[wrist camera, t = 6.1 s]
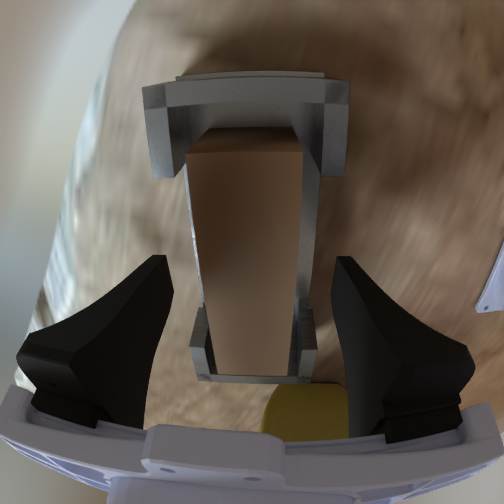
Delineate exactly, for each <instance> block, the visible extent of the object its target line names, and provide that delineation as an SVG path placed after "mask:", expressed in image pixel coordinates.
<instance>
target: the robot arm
mask: <svg viewBox="0 0 504 504" xmlns="http://www.w3.org/2000/svg"><path fill="white" fill-rule="evenodd" d="M173 294H174V289H173V285H172V280H171V276H170V271H169V267H168V262H167V257H166V255H152V256H151V257H150V258H148V259H147V260H146V261H145V262H144V263H142V264H141V265H140V266H139V267H138V268H137V269H136V270H134V271H133V272H132V273H131V274H130V275H129V276H128V277H126V278H125V279H124V280H123V281H122V282H120V283H119V284H118V285H117V286H116V287H114V288H113V289H112V290H111V291H109V292H108V293H107V294H105V295H104V296H103V297H101V298H100V299H99V300H97V301H96V302H94V303H93V304H91V305H90V306H88V307H86V308H85V309H83V310H81V311H79V312H78V313H76V314H74V315H72V316H71V317H69V318H67V319H65V320H62V321H60V322H58V323H56V324H54V325H51V326H49V327H46V328H44V329H41V330H38V331H35V332H33V333H29V335H28V336H27V338H26V340H25V341H24V343H23V345H22V347H21V348H20V350H19V352H18V353H17V355H16V360H17V363H18V365H19V367H20V368H21V370H22V371H23V372H24V374H25V375H26V376H27V377H28V379H29V380H30V381H31V382H32V383H33V385H34V386H35V387H36V388H37V389H36V391H35V394H33V393H32V392H30V391H29V390H27V389H24V388H21V387H19V386H16V385H14V384H11V385H10V387H9V389H8V391H7V393H6V395H5V397H4V399H3V401H2V403H1V405H0V438H1V439H3V440H4V441H5V442H6V443H8V444H9V445H10V446H12V447H13V448H14V449H16V450H17V451H18V452H20V453H21V454H23V455H24V456H26V457H28V458H30V459H32V460H34V461H36V462H38V463H40V464H42V465H44V466H47V467H49V468H51V469H53V470H55V471H57V472H59V473H62V474H64V475H66V476H69V477H71V478H73V479H76V480H78V481H80V482H83V483H85V484H88V485H91V486H93V487H96V488H99V489H101V490H104V491H107V492H109V493H108V498H107V502H106V504H391V503H395V502H398V501H402V500H406V499H409V498H412V497H416V496H419V495H422V494H425V493H428V492H431V491H434V490H437V489H440V488H443V487H446V486H449V485H451V484H454V483H457V482H460V481H462V480H465V479H468V478H470V477H472V476H474V475H475V474H477V473H478V472H480V471H482V470H483V469H484V468H486V467H488V466H489V465H491V464H492V463H494V462H495V461H497V460H498V459H500V458H501V457H502V456H504V446H503V443H502V439H501V436H500V433H499V430H498V427H497V424H496V421H495V418H494V415H493V412H492V409H491V407H490V404H489V402H484V403H480V404H477V405H474V406H470V407H468V408H465V409H463V410H462V411H461V412H460V409H459V406H458V405H459V404H460V403H461V398H460V395H459V393H460V392H461V391H462V389H463V388H464V387H465V386H466V384H467V383H468V382H469V381H470V379H471V377H472V376H473V374H474V371H475V363H474V361H473V359H472V357H471V355H470V352H469V350H468V348H467V346H466V345H464V344H462V343H459V342H457V341H455V340H453V339H451V338H448V337H446V336H444V335H442V334H441V333H439V332H437V331H435V330H433V329H432V328H430V327H428V326H427V325H425V324H424V323H422V322H421V321H419V320H418V319H416V318H415V317H413V316H412V315H411V314H409V313H408V312H407V311H405V310H404V309H403V308H402V307H400V306H399V305H398V304H397V303H396V302H394V301H393V300H392V299H391V298H390V297H389V296H388V295H387V294H386V293H385V292H384V291H383V290H382V289H381V288H380V287H379V286H378V285H377V284H376V283H375V282H374V281H373V280H372V279H371V278H370V277H369V276H368V275H367V274H366V273H365V271H364V270H363V269H362V268H361V267H360V266H359V265H358V264H357V263H356V261H355V260H354V259H353V258H352V257H351V256H337V258H336V264H335V271H334V277H333V283H332V289H331V301H332V310H333V316H334V320H335V324H336V328H337V332H338V337H339V341H340V345H341V349H342V353H343V358H344V364H345V373H346V383H347V396H348V419H349V438H346V439H335V440H321V441H300V442H283V441H282V440H281V439H280V438H279V437H276V436H273V435H270V434H268V433H260V432H252V431H232V430H217V429H206V428H195V427H187V426H178V425H165V424H159V425H156V426H153V427H151V428H149V429H148V430H143V424H144V413H145V405H146V397H147V390H148V384H149V378H150V373H151V368H152V364H153V359H154V356H155V352H156V349H157V346H158V343H159V341H160V338H161V335H162V332H163V329H164V327H165V324H166V321H167V318H168V315H169V312H170V308H171V304H172V299H173ZM475 310H476V311H477V313H483V312H491V311H498V310H504V242H503V244H502V247H501V250H500V252H499V255H498V257H497V260H496V262H495V265H494V267H493V269H492V272H491V274H490V276H489V278H488V281H487V283H486V285H485V287H484V289H483V291H482V294H481V296H480V298H479V300H478V302H477V304H476V306H475Z"/></svg>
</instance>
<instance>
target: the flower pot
mask: <svg viewBox="0 0 504 504" xmlns="http://www.w3.org/2000/svg"><path fill="white" fill-rule="evenodd" d="M259 432H260V433H268V434H270V435H273V436H276V437H279V438H280V439H281V440H282V441H283V442H300V441H321V440H335V439H346V438H349V419H348V396H347V390H346V389H345V388H343V387H342V386H341V385H339V384H323V383H308V384H279V385H278V387H277V388H276V389H275V391H274V392H273V394H272V395H271V397H270V399H269V401H268V403H267V406H266V408H265V411H264V414H263V418H262V422H261V426H260V429H259Z"/></svg>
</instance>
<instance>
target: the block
mask: <svg viewBox="0 0 504 504" xmlns="http://www.w3.org/2000/svg"><path fill="white" fill-rule="evenodd" d="M185 158H186V168H187V177H188V185H189V194H190V202H191V210H192V218H193V226H194V233H195V240H196V247H197V254H198V261H199V268H200V274H201V281H202V287H203V293H204V299H205V305H206V311H207V317H208V323H209V329H210V334H211V340H212V345H213V351H214V356H215V361H216V366H217V371H218V374H227V375H255V376H287V371H288V362H289V353H290V343H291V333H292V323H293V312H294V300H295V288H296V276H297V262H298V248H299V233H300V216H301V197H302V174H303V150H302V148H301V145H300V143H299V140H298V138H297V135H296V133H295V130H294V128H293V127H226V128H208V130H207V131H206V132H205V133H204V134H203V135H202V136H201V137H200V138H199V139H198V140H197V141H196V142H195V144H194V145H193V146H192V147H191V148H190V149H189V150H188V151H187V152H186V154H185Z"/></svg>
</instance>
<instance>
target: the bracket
mask: <svg viewBox="0 0 504 504" xmlns="http://www.w3.org/2000/svg"><path fill="white" fill-rule="evenodd" d="M142 93H143V103H144V113H145V122H146V130H147V138H148V146H149V153H150V160H151V167H152V174H153V179H158V178H174V177H175V176H176V175H177V174H178V172H179V171H180V170H181V168H182V167H183V166H184V175H185V184H186V192H187V200H188V208H189V215H190V223H191V230H192V237H193V244H194V251H195V258H196V264H197V271H198V277H199V283H200V289H201V295H202V301H203V307H204V308H200V307H199V308H198V312H197V316H196V320H195V324H194V328H193V332H192V336H191V340H190V345H189V349H190V353H191V356H192V360H193V363H194V367H195V370H196V374H197V377H198V381H210V382H226V383H252V384H308V383H311V378H312V374H313V369H314V365H315V360H316V355H317V351H318V348H317V340H316V332H315V324H314V316H313V309H307V308H308V300H309V292H310V284H311V275H312V266H313V257H314V247H315V237H316V226H317V214H318V202H319V188H320V175H321V176H329V177H344V171H345V159H346V147H347V133H348V116H349V95H350V81H345V80H340V79H334V78H324V73H320V72H301V71H237V72H218V73H205V74H194V75H184V76H176V81H173V82H166V83H161V84H156V85H151V86H147V87H142ZM226 127H293V128H294V130H295V133H296V135H297V138H298V140H299V143H300V145H301V148H302V150H303V174H302V197H301V216H300V233H299V248H298V262H297V276H296V288H295V300H294V312H293V323H292V333H291V343H290V353H289V362H288V371H287V376H255V375H227V374H218V371H217V366H216V361H215V356H214V351H213V345H212V340H211V334H210V329H209V323H208V317H207V311H206V305H205V299H204V293H203V287H202V281H201V274H200V268H199V261H198V254H197V247H196V240H195V233H194V226H193V218H192V210H191V202H190V194H189V185H188V177H187V168H186V158H185V154H186V152H187V151H188V150H189V149H190V148H191V147H192V146H193V145H194V144H195V142H196V141H197V140H198V139H199V138H200V137H201V136H202V135H203V134H204V133H205V132H206V131H207V130H208V128H226Z"/></svg>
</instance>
